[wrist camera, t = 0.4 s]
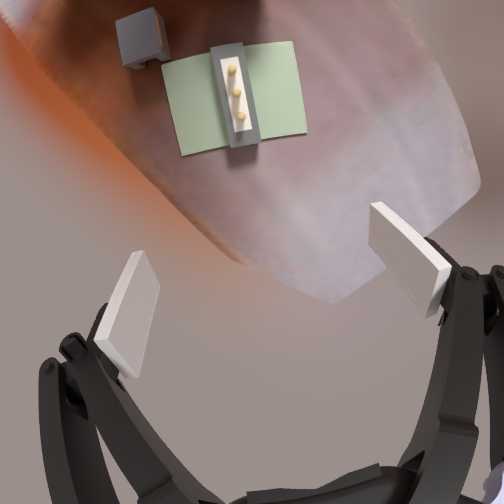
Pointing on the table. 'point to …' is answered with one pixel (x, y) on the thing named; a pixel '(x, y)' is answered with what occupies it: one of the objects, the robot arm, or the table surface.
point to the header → (235, 96)
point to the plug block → (142, 38)
